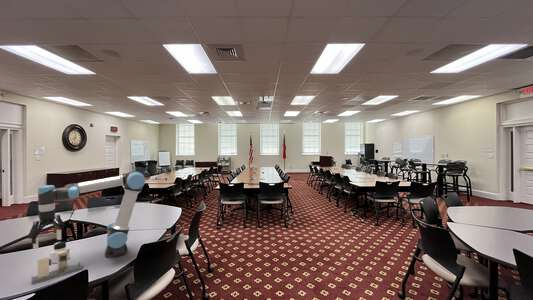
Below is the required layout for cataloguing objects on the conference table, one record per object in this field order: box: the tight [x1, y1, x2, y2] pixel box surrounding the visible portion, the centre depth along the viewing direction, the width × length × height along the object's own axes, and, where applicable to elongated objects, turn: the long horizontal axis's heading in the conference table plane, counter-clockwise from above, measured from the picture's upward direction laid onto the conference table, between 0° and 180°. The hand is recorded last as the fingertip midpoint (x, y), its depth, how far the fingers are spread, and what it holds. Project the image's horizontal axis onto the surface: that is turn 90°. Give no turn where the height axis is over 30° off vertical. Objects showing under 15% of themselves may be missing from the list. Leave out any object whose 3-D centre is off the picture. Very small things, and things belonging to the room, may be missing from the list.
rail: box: [31, 257, 84, 285], centre depth 148 cm, size 24×6×12 cm, turn 138°
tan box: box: [57, 251, 68, 270], centre depth 156 cm, size 6×4×10 cm, turn 48°
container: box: [49, 241, 70, 264], centre depth 165 cm, size 8×8×13 cm
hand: (48, 243), depth 145 cm, fingers open, 13 cm apart
